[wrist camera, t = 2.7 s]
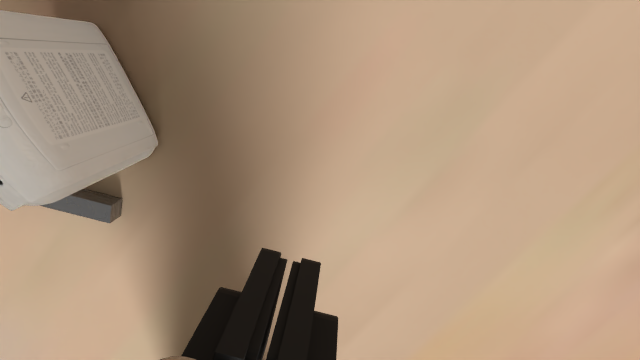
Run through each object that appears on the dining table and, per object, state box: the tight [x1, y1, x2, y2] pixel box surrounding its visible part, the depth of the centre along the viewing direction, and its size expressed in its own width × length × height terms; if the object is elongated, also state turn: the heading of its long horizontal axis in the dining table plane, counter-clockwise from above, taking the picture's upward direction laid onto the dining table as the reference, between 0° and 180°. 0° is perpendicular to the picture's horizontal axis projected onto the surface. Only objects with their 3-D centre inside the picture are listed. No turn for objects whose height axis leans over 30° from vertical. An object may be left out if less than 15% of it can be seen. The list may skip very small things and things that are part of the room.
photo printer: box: [0, 10, 158, 211], centre depth 23 cm, size 10×4×12 cm, turn 24°
